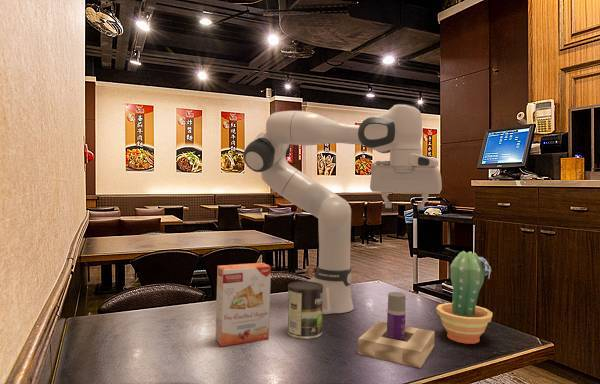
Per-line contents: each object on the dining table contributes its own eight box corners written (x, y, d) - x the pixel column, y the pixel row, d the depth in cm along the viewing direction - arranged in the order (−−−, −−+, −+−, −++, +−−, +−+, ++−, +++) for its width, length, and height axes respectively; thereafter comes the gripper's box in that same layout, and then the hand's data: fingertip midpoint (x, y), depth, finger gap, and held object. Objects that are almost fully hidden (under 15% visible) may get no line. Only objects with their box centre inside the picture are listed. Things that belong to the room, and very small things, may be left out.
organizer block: (358, 353, 107) (358, 338, 107) (377, 334, 121) (378, 321, 121) (420, 368, 100) (421, 351, 100) (434, 346, 114) (434, 331, 114)
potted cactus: (481, 353, 109) (484, 258, 109) (426, 337, 120) (428, 251, 119) (500, 337, 121) (502, 252, 120) (448, 324, 131) (450, 246, 131)
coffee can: (325, 328, 125) (326, 282, 125) (317, 341, 115) (318, 291, 115) (293, 324, 128) (294, 279, 128) (282, 336, 118) (283, 287, 118)
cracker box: (221, 348, 110) (222, 269, 109) (215, 340, 115) (216, 265, 114) (270, 339, 116) (271, 265, 116) (262, 332, 121) (263, 261, 121)
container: (404, 354, 107) (406, 297, 107) (386, 352, 108) (387, 295, 108) (404, 347, 112) (405, 292, 112) (386, 345, 113) (387, 291, 113)
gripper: (367, 160, 122) (366, 207, 122) (439, 159, 112) (438, 210, 113) (374, 161, 128) (373, 206, 128) (443, 161, 118) (442, 209, 118)
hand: (404, 208), depth 120 cm, fingers open, 8 cm apart
